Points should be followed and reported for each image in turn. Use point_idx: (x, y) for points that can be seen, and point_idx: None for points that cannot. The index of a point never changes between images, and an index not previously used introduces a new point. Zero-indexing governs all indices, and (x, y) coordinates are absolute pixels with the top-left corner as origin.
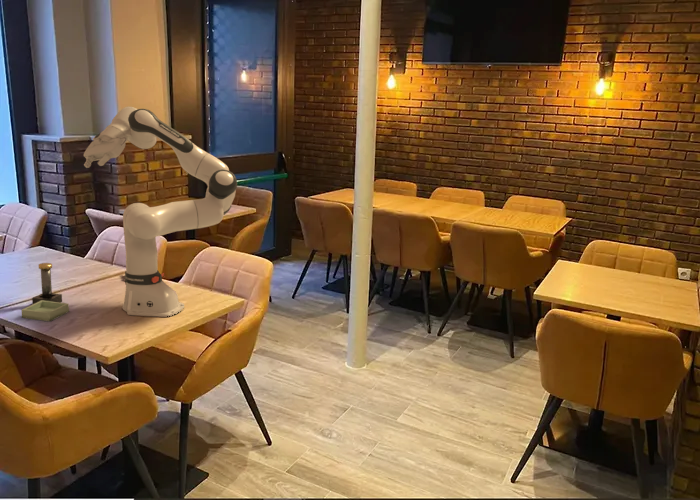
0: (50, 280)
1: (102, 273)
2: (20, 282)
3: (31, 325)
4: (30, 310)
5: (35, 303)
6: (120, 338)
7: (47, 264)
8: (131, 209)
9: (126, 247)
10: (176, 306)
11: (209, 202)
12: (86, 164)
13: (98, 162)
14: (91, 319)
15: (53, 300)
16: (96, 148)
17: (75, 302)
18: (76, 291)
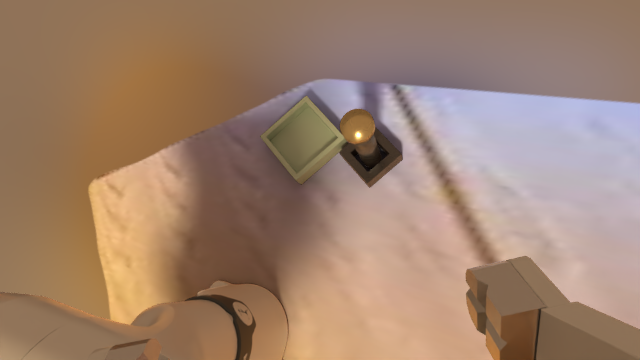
0: (356, 148)
1: None
2: (588, 133)
3: (265, 112)
4: (293, 109)
5: (330, 123)
6: (132, 223)
7: (355, 129)
8: (21, 351)
9: (165, 310)
10: None
11: None
12: (471, 279)
13: (124, 347)
14: (237, 209)
15: (348, 163)
16: None
17: (352, 212)
18: (436, 238)
